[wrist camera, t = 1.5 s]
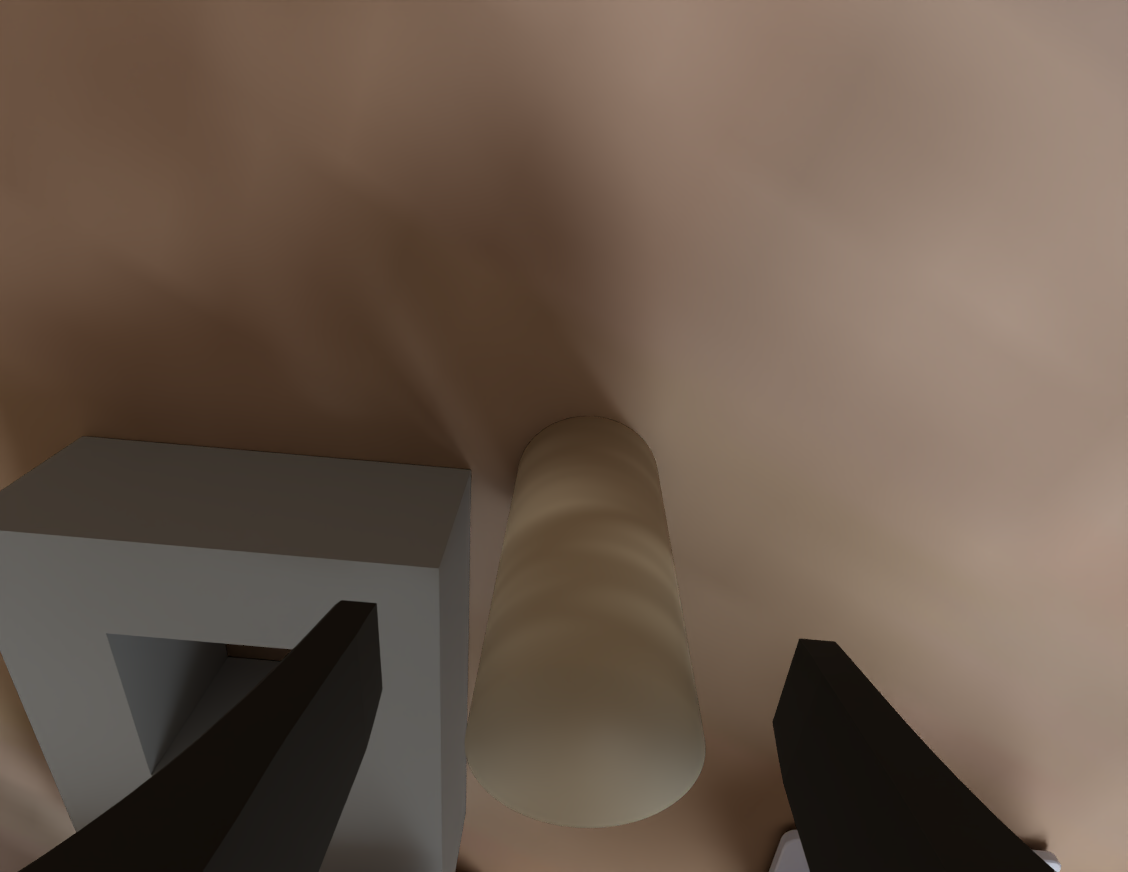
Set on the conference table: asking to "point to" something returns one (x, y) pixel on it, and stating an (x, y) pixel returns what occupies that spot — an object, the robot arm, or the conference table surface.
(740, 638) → the conference table surface
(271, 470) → the socket block
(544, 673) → the peg
